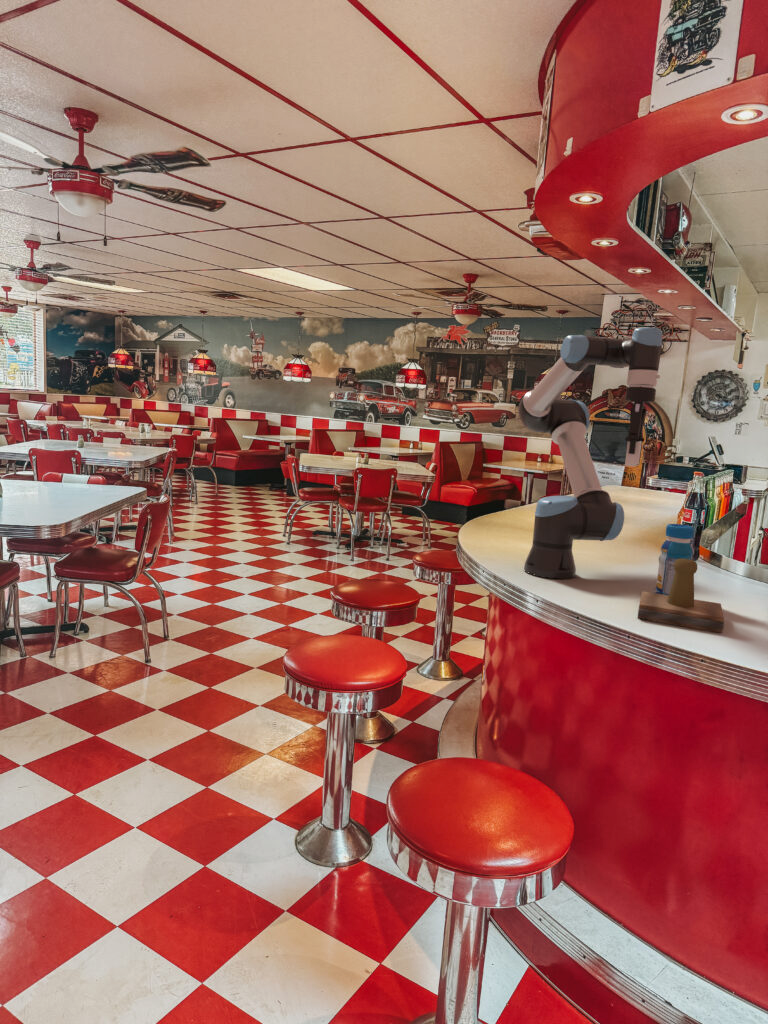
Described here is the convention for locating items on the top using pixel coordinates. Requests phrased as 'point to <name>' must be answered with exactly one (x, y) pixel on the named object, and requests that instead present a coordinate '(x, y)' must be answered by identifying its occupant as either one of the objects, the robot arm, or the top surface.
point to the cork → (683, 583)
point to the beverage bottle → (673, 554)
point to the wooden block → (681, 612)
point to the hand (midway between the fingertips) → (632, 465)
